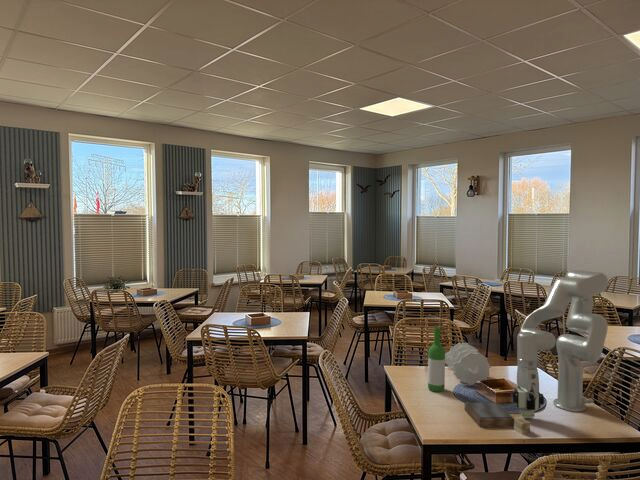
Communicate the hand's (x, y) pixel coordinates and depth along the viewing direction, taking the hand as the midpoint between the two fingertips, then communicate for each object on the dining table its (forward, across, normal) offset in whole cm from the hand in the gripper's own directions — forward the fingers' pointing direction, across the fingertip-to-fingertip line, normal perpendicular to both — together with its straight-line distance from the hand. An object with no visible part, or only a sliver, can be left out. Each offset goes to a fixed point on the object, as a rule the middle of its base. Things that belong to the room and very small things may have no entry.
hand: (526, 405), depth 185 cm
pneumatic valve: (+5, 0, 0) cm, 5 cm away
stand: (+5, +1, +16) cm, 16 cm away
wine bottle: (+5, +33, +28) cm, 43 cm away
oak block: (+5, -11, +8) cm, 15 cm away
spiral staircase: (+6, +47, +8) cm, 48 cm away
